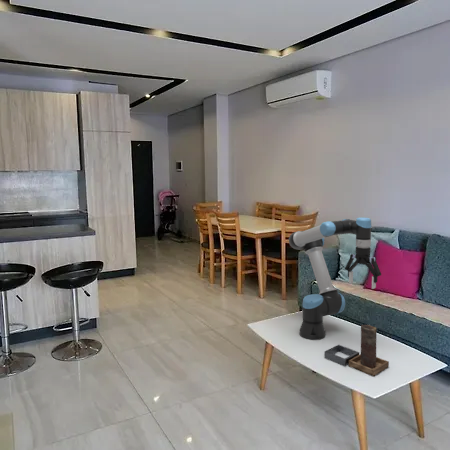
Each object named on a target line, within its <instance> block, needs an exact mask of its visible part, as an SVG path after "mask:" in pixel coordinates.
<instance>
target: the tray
mask: <svg viewBox="0 0 450 450" xmlns="http://www.w3.org/2000/svg"><path fill="white" fill-rule="evenodd" d="M348 367H350V368H352V369H353V370H355V371H359V372H362V373H364V374H366V375H368V376H371V377H376V376H378V375H379V374H380V373H382V372H384V371H385V370H387V369H388V368H389V367H390V361H388V360H386V359H382V358H380V357H378V356H376V366H375V367H373V368H368V367H366V366H363V365H362V364H361V353H359V355H358V356H356V357H354V358H353V359H351V360H349V365H348Z"/></svg>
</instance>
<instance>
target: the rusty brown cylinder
mask: <svg viewBox="0 0 450 450" xmlns="http://www.w3.org/2000/svg"><path fill="white" fill-rule="evenodd" d="M360 354H361V364H362V365H363V366H366V367H368V368H373V367H375V366H376V357H377V327H376V326H372V325H370V324H361V325H360Z"/></svg>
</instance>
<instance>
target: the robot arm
mask: <svg viewBox="0 0 450 450" xmlns="http://www.w3.org/2000/svg"><path fill="white" fill-rule="evenodd" d="M355 219H356V220H355ZM355 219H350V218H345V219H342V220H332V221H330V220H329V221H323V222H322V223H321V224H320V225H317V226H314V227H310V228H309V229H306V230H301V231H299V230H298V231H295V232H292V233H291V234H290V235H289V237H288V243H289V246H290V247H291V248H293V249H294V250H299V251H300V250H301V251H302V250H303V252H304V253H305V254H306V255H308V257H309V261H310V264H311V267H312V271H313V274H314V278H315V280H316V283H317V286H318V290H319V293H314V294H313V293H312V294H308V295H305V296H304V298H303V300H302V323H301V325H300V328H299V335H300V337H302V338H304V339H307V340H315V341H317V340H322V339H324V338H325V337H326V336H327V335H326V333H327V332H326V330H325V326H324V323H323V320H324V317H327V316H332V315H338V314H341V313H342V312H343V311H344V309H345V307H346V299H345V297H344V295H343V294H342V293H340V292H339V291H338V289H336V288H335V287H334V285H333V282H332V279H331V276H330V271H329V270H328V269H329V268H328V266H327V263H326V260H325V257H324V254H323V252H322V251H323V249H324V245H325V238H329V237H333V236H337V235H339V236H340V235H348V234H350V235H355V246H356V247H355V253H351V254H350V255H349V258H348V261H347V263H346V265H345V266H344V270H345V271H347V277H348V284H353V283H354V271H353V270H354V269H355V268H356V267H357V265H358V264H359V265H363V266H364V265H365V266H366V267H367V269H368V270H369V272H370V273H371V274H372V276H371V290H374V289H376V288H377V283H378V278H379V277H380V276H382V273H381V272H382V271H381V269H380V268H379V264H378V263H377V257H376V256H374V257H371V245H372V242H371V241H372V219H371V218H369V217H357V218H355ZM354 260H355V261H354Z"/></svg>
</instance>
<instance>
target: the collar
mask: <svg viewBox="0 0 450 450" xmlns="http://www.w3.org/2000/svg"><path fill="white" fill-rule="evenodd" d="M338 353H341V354H343V355H347V357H343V356H339V355H337V354H338ZM358 355H360V351H358V350H356V349H355V350H354V349H351V348H349V347H346V346H344V345H341V344H337V345H335V346H333V347H330V348H328V349H326V350H325V351H324V354H323V357H324V359H326V360H328V361H330V362H333V363H336V364H338V365H340V366H343V367H347V366H349V360H351V359H353V358H354V357H356V356H358Z"/></svg>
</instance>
